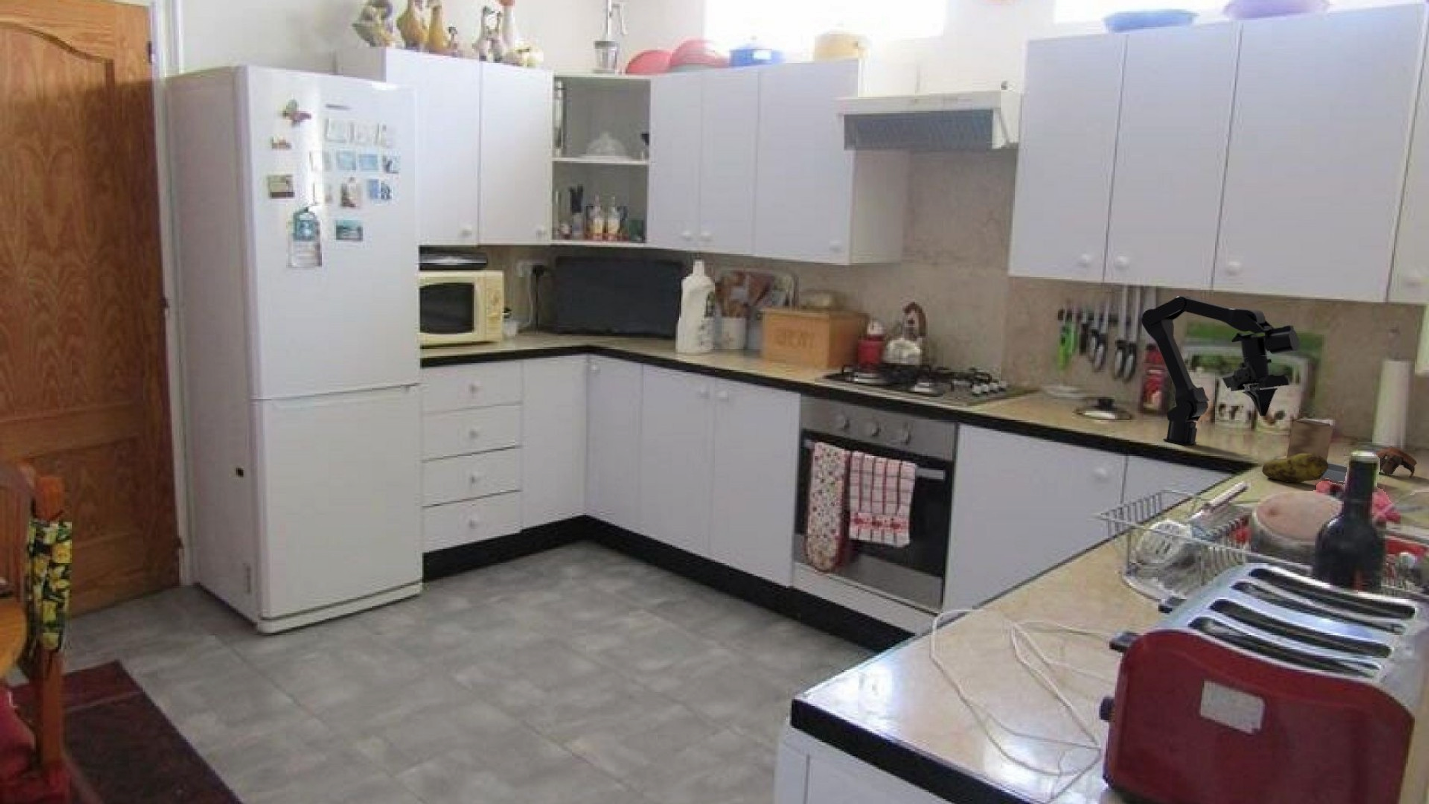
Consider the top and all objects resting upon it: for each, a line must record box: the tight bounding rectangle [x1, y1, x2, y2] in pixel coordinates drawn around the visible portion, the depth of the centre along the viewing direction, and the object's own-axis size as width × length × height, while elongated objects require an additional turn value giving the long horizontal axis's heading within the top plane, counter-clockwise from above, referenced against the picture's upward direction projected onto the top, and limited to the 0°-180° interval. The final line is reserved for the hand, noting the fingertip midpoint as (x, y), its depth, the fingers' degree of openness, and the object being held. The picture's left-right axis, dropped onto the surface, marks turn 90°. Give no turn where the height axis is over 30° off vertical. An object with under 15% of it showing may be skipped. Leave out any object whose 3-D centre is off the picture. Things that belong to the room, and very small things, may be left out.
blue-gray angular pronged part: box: [1273, 457, 1348, 482], centre depth 256 cm, size 18×11×7 cm, turn 36°
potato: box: [1261, 453, 1329, 483], centre depth 244 cm, size 8×13×8 cm, turn 33°
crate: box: [1286, 418, 1334, 462], centre depth 258 cm, size 7×6×12 cm
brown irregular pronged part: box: [1375, 445, 1418, 478], centre depth 261 cm, size 12×10×8 cm
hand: (1263, 416), depth 268 cm, fingers closed
